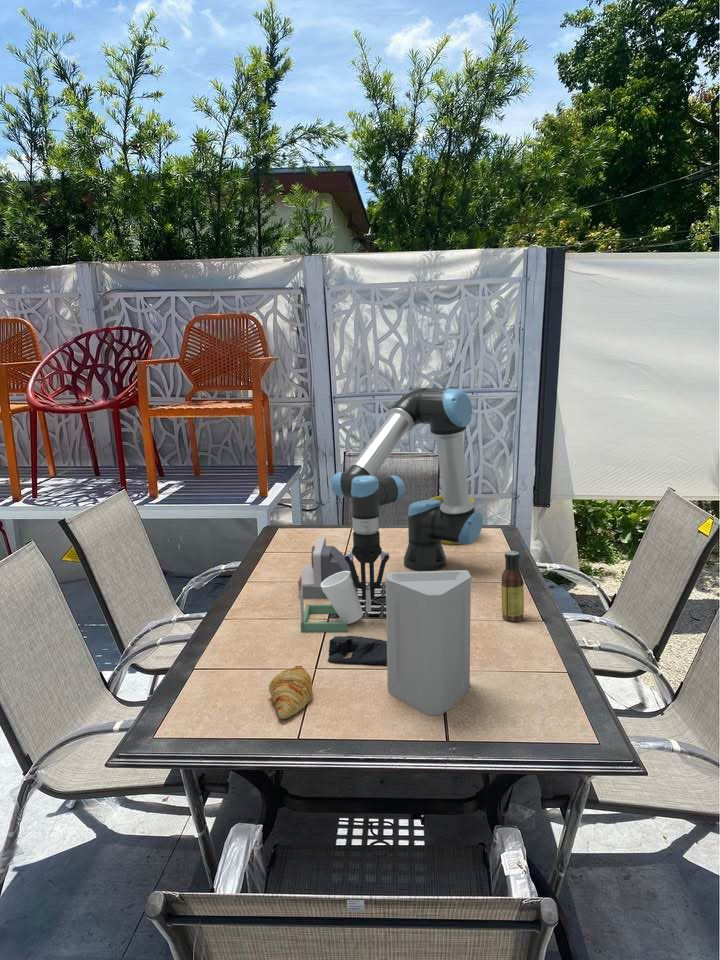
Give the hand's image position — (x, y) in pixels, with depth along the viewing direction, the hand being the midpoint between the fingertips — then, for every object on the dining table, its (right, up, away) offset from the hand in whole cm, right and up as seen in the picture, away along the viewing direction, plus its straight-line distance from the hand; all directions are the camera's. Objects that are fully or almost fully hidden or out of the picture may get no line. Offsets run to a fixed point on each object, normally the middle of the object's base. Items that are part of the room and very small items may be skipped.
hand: (368, 609), depth 203 cm
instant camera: (-13, +2, +29) cm, 32 cm away
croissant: (-18, -14, -40) cm, 46 cm away
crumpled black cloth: (+1, -9, -18) cm, 20 cm away
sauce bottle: (+42, -3, +1) cm, 42 cm away
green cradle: (-12, -4, 0) cm, 13 cm away
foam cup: (-4, -3, +1) cm, 5 cm away
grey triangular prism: (+14, -13, -41) cm, 45 cm away
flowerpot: (+34, +13, +77) cm, 85 cm away
